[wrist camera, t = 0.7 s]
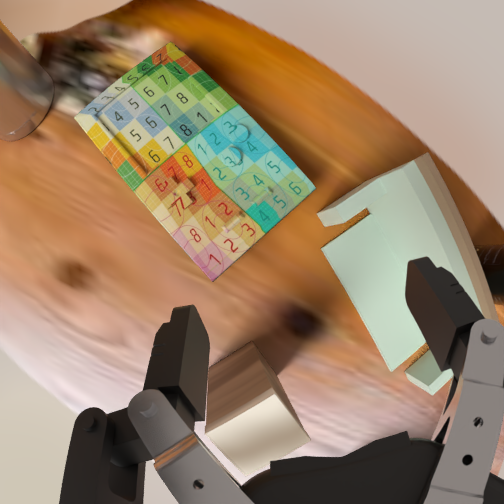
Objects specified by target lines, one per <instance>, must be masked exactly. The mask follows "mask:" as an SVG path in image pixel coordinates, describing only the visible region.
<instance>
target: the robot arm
mask: <svg viewBox="0 0 504 504" xmlns="http://www.w3.org/2000/svg"><path fill="white" fill-rule="evenodd" d="M53 95H54V85H53V81H52V79H51V77H50V76H49V75H48V74H47V72H46V71H45V70H44V69H43V68H42V67H41V66H40V65H39V63H38V62H37V61H36V60H35V59H34V58H33V56H32V55H31V54H30V53H29V52H28V51H27V50H26V49H25V47H24V46H23V45H22V44H21V43H20V42H19V41H18V40H17V38H16V37H15V36H14V35H13V34H12V33H11V32H10V30H9V29H8V28H7V27H6V26H5V25H4V23H2V21H1V20H0V138H1V139H3V140H5V141H15V140H19V139H21V138H23V137H25V136H26V135H28V134H29V133H31V132H32V131H33V130H34V129H35V128H36V127H37V126H38V125H39V124H40V122H41V121H42V120H43V118H44V117H45V115H46V113H47V112H48V110H49V107H50V105H51V103H52V99H53ZM405 299H406V303H407V306H408V308H409V310H410V312H411V314H412V316H413V318H414V319H415V321H416V323H417V325H418V327H419V329H420V331H421V333H422V335H423V336H424V338H425V340H426V342H427V344H428V346H429V348H430V350H431V352H432V354H433V356H434V358H435V360H436V362H437V364H438V366H439V369H440V371H441V372H443V371H446V370H448V369H451V370H452V372H453V377H452V380H451V383H450V387H449V391H448V394H447V398H446V401H445V404H444V408H443V411H442V414H441V417H440V420H439V422H438V425H437V427H436V429H435V431H434V434H433V436H432V438H431V440H428V439H422V438H409V435H408V432H407V431H405V432H402V433H399V434H396V435H392V436H389V437H386V438H382V439H379V440H375V441H373V442H371V443H369V444H368V445H366V446H364V447H362V448H360V449H358V450H356V451H354V452H352V453H350V454H348V455H346V456H343V457H312V456H302V457H296V458H289V459H282V460H275V461H270V469H268V470H265V471H263V472H261V473H259V474H257V475H256V476H254V477H252V478H251V479H249V480H248V481H247V482H245V483H244V484H243V485H241V484H240V483H239V482H238V481H237V480H236V479H235V478H234V477H233V475H232V474H231V473H230V472H229V471H228V470H227V469H226V468H225V467H224V466H223V465H222V464H221V463H220V461H219V460H218V459H217V458H216V457H215V456H214V455H213V453H212V452H211V451H210V450H209V449H208V448H207V446H206V445H205V444H204V443H203V442H202V440H201V439H200V438H199V437H198V435H197V434H196V433H195V432H194V425H195V422H196V421H205V409H206V393H207V379H208V365H209V352H210V343H209V337H208V334H207V331H206V329H205V327H204V324H203V322H202V320H201V318H200V316H199V313H198V311H197V309H196V307H195V306H194V305H187V306H182V307H176V308H174V309H173V311H172V315H171V320H170V322H168V323H163V324H162V326H161V327H160V329H159V330H158V332H157V333H156V336H155V340H154V344H153V346H154V347H153V348H152V352H151V357H150V361H149V365H148V370H147V374H146V379H145V383H144V388H143V391H141V392H139V393H138V394H136V395H135V396H134V397H133V398H132V400H131V401H130V403H129V405H128V407H127V408H124V409H121V410H118V411H115V412H112V413H109V414H106V413H105V412H104V411H103V410H101V409H99V408H96V407H92V408H88V409H86V410H84V411H83V412H81V413H80V414H79V416H78V417H77V419H76V421H75V424H74V428H73V432H72V437H71V441H70V446H69V450H68V455H67V461H66V465H65V471H64V476H63V483H62V488H61V494H60V501H59V504H143V496H144V479H145V464H146V461H149V460H152V459H154V460H155V463H154V467H155V469H156V471H157V472H158V474H159V476H160V477H161V479H162V480H163V482H164V483H165V485H166V486H167V487H168V489H169V490H170V492H171V493H172V495H173V496H174V497H175V499H176V500H177V501H178V503H179V504H504V480H503V479H501V478H499V477H498V476H496V475H494V474H492V473H490V470H491V467H492V463H493V459H494V456H495V452H496V448H497V444H498V440H499V435H500V431H501V426H502V421H503V416H504V327H503V326H502V325H501V324H500V323H499V322H497V321H495V320H492V319H485V317H484V316H483V314H482V313H481V312H480V310H479V309H478V307H477V306H476V305H475V303H474V302H473V300H472V299H471V298H470V296H469V295H468V294H467V292H465V289H464V288H463V287H462V286H461V284H459V282H458V280H457V279H456V278H455V276H454V275H453V274H452V273H451V272H449V271H448V270H446V269H445V268H443V267H442V266H441V267H436V266H435V265H434V263H433V262H432V261H431V259H430V258H429V257H427V256H426V257H422V258H418V259H413V260H410V261H408V264H407V275H406V286H405Z"/></svg>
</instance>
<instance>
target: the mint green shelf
mask: <svg viewBox="0 0 504 504" xmlns="http://www.w3.org/2000/svg"><path fill="white" fill-rule="evenodd" d="M366 207H367V209H368V211H369V213H370V214H369V215H368V216H366V217H365V218H363V219H362V220H361V221H359V222H358V223H356V224H355V225H354V226H352V227H351V228H349V229H348V230H346V231H345V232H344V233H342V234H341V235H339V236H338V237H336V238H335V239H334V240H332V241H331V242H329V243H328V244H326V245H325V246H323V247H322V248H321V250H322V252H323V253H324V255H325V257H326V258H327V260H328V262H329V263H330V265H331V267H332V268H333V270H334V272H335V274H336V275H337V277H338V279H339V280H340V282H341V284H342V285H343V287H344V289H345V291H346V292H347V294H348V296H349V297H350V299H351V301H352V303H353V304H354V306H355V308H356V310H357V311H358V313H359V315H360V317H361V319H362V320H363V322H364V324H365V326H366V328H367V329H368V331H369V333H370V335H371V337H372V338H373V340H374V342H375V344H376V346H377V348H378V349H379V351H380V353H381V355H382V357H383V359H384V361H385V363H386V364H387V366H388V368H389V370H390V371H391V372H392V371H393V370H394V369H395V368H397V367H398V366H399V365H400V364H401V363H403V362H404V361H405V360H406V359H407V358H409V357H410V356H411V355H412V354H413V353H414V352H415V351H417V350H418V349H419V348H420V347H421V346H422V345H423V344H424V343H425V342H426V340H425V338H424V336H423V335H422V333H421V331H420V329H419V327H418V325H417V323H416V321H415V319H414V318H413V316H412V314H411V312H410V310H409V308H408V306H407V303H406V299H405V286H406V275H407V264H408V261H410V260H413V259H418V258H422V257H426V256H427V257H429V258H430V259H431V261H432V262H433V263H434V265H435V266H436V267H441V266H442V267H443V268H445V269H446V270H448V271H449V272H451V273H452V274H453V275H454V276H455V278H456V279H457V280H458V282H459V284H461V286H462V287H463V288H464V289H465V292H467V294H468V295H469V296H470V298H471V299H472V300H473V302H474V303H475V305H476V306H477V307H478V309H479V310H480V312H481V313H482V314H483V316H484V317H485V319H492V320H495V321H497V322H499V319H498V316H497V312H496V309H495V305H494V302H493V299H492V296H491V292H490V289H489V286H488V283H487V280H486V277H485V275H484V272H483V269H482V266H481V264H480V261H479V258H478V256H477V253H476V250H475V248H474V245H473V243H472V240H471V238H470V236H469V233H468V231H467V229H466V226H465V224H464V222H463V219H462V217H461V215H460V213H459V211H458V209H457V206H456V204H455V202H454V200H453V198H452V196H451V194H450V192H449V190H448V188H447V186H446V184H445V182H444V180H443V178H442V176H441V175H440V173H439V171H438V169H437V167H436V165H435V164H434V162H433V160H432V158H431V156H430V155H429V153H428V152H427V153H425V154H422V155H420V156H419V157H417V158H416V159H414V160H412V161H410V162H408V163H406V164H403V165H401V166H399V167H396V168H394V169H392V170H390V171H388V172H385V173H383V174H381V175H379V176H376V177H374V178H372V179H370V180H367V181H365V182H364V183H362V184H361V185H359V186H358V187H356V188H355V189H353V190H352V191H350V192H349V193H347V194H346V195H344V196H343V197H341V198H340V199H338V200H336V201H335V202H333V203H332V204H330V205H329V206H327V207H326V208H324V209H323V210H321V211H320V212H318V213H317V215H318V217H319V218H320V220H321V222H322V223H323V225H324V227H327V226H331V225H336V224H341V223H345V222H346V221H348V220H349V219H351V218H352V217H353V216H355V215H356V214H358V213H359V212H361V211H362V210H364V209H365V208H366ZM404 372H405V374H406V376H407V378H408V380H409V381H411V382H412V383H414V384H415V385H417V386H418V387H420V388H422V389H423V390H425V391H426V392H428V393H429V394H431V395H434V394H435V393H436V392H437V391H438V390H439V389H440V388H441V387H442V386H443V385H444V384H445V383H446V382H447V381H448V380H449V379H450V378H451V377H452V376H453V372H452V370H451V369H448V370H446V371H443V372H441V371H440V369H439V366H438V364H437V362H436V360H435V358H434V356H433V354H432V352H431V350H430V349H429V350H428V351H427V352H426V353H425V354H424V355H423V356H421V357H420V358H419V359H418V360H417V361H416V362H415V363H414V364H412V365H411V366H410V367H409V368H408V369H407V370H405V371H404Z"/></svg>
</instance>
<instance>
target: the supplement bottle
mask: <svg viewBox="0 0 504 504" xmlns="http://www.w3.org/2000/svg"><path fill="white" fill-rule="evenodd" d="M474 248H475V250H476V253H477V256H478V258H479V261H480V264H481V266H482V269H483V272H484V275H485V277H486V280H487V283H488V286H489V289H490V292H491V296H492V299H493V302H494V304H497V305H503V306H504V245H483V246H474Z"/></svg>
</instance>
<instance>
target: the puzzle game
mask: <svg viewBox="0 0 504 504" xmlns="http://www.w3.org/2000/svg"><path fill="white" fill-rule="evenodd" d="M74 118H75V119H76V121H77V122H78V123H79V125H80V126H81V127H82V128H83V130H84V131H85V132H86V134H87V135H88V136H89V137H90V139H91V140H92V141H93V142H94V144H95V145H96V146H97V147H98V149H99V150H100V151H101V152H102V154H103V155H104V156H105V157H106V159H107V160H108V161H109V162H110V164H111V165H112V166H113V167H114V169H115V170H116V171H117V172H118V173H119V175H120V176H121V177H122V178H123V179H124V181H125V182H126V183H127V184H128V186H129V187H130V188H131V189H132V190H133V192H134V193H135V194H136V195H137V196H138V197H139V199H140V200H141V201H142V202H143V203H144V205H145V206H146V207H147V208H148V209H149V210H150V212H151V213H152V214H153V215H154V216H155V217H156V219H157V220H158V221H159V222H160V223H161V224H162V226H163V227H164V228H165V229H166V230H167V231H168V232H169V234H170V235H171V236H172V237H173V238H174V239H175V241H176V242H177V243H178V244H179V245H180V246H181V247H182V248H183V250H184V251H185V252H186V253H187V254H188V255H189V256H190V257H191V259H192V260H193V261H194V262H195V263H196V264H197V265H198V266H199V268H200V269H201V270H202V271H203V272H204V273H205V274H206V275H207V276H208V277H209V279H210V280H211V281H212V282H213V281H215V280H216V279H217V278H218V277H219V276H220V275H221V274H222V273H223V272H224V271H226V270H227V269H228V268H229V267H230V266H231V265H232V264H233V263H234V262H236V261H237V260H238V259H239V258H240V257H241V256H242V255H243V254H244V253H246V252H247V251H248V250H249V249H250V248H251V247H252V246H253V245H254V244H255V243H257V242H258V241H259V240H260V239H261V238H262V237H263V236H264V235H265V234H267V233H268V232H269V231H270V230H271V229H272V228H273V227H274V226H275V225H277V224H278V223H279V222H280V221H281V220H282V219H283V218H284V217H285V216H287V215H288V214H289V213H290V212H291V211H292V210H293V209H294V208H295V207H297V206H298V205H299V204H300V203H301V202H302V201H303V200H304V199H305V198H307V197H308V196H309V195H310V194H311V193H312V192H313V191H314V190H315V189H316V187H315V186H314V185H313V184H312V182H311V181H310V180H309V179H308V178H307V176H306V175H305V174H304V173H303V172H302V171H301V170H300V169H299V167H298V166H297V165H296V164H295V163H294V162H293V161H292V160H291V159H290V158H289V156H288V155H287V154H286V153H285V152H284V151H283V150H282V149H281V148H280V147H279V146H278V145H277V143H276V142H275V141H274V140H273V139H272V138H271V137H270V136H269V135H268V134H267V133H266V132H265V131H264V130H263V129H262V128H261V127H260V126H259V125H258V123H257V122H256V121H255V120H254V119H253V118H252V117H251V116H250V115H249V114H248V113H247V112H246V111H245V110H244V109H243V108H242V107H241V106H240V105H239V104H238V103H237V102H236V101H235V100H234V99H233V98H232V97H231V96H230V95H229V94H228V93H227V92H226V91H224V90H223V89H222V88H221V87H220V86H219V85H218V84H217V83H216V82H215V81H214V80H213V79H212V78H211V77H210V76H209V75H208V74H207V73H206V72H204V71H203V70H202V69H201V68H200V67H199V66H198V65H197V64H196V63H195V62H194V61H192V60H191V59H190V58H189V57H188V56H187V55H186V54H185V53H184V52H182V51H181V50H180V49H179V48H178V47H177V46H176V45H174V44H173V43H172V42H170V43H168V44H167V45H165V46H164V47H162V48H161V49H159V50H158V51H156V52H155V53H153V54H152V55H150V56H149V57H148V58H146V59H145V60H143V61H142V62H141V63H139V64H138V65H137V66H135V67H134V68H132V69H131V70H130V71H129V72H127V73H126V74H125V75H123V76H122V77H121V78H119V79H118V80H117V81H116V82H114V83H113V84H112V85H111V86H109V87H108V88H107V89H106V90H105V91H103V92H102V93H101V94H100V95H99V96H97V97H96V98H95V99H94V100H93V101H92V102H91V103H89V104H88V105H87V106H86V107H85V108H84V109H83V110H82V111H80V112H79V113H78V114H77V115H76V116H75V117H74Z"/></svg>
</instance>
